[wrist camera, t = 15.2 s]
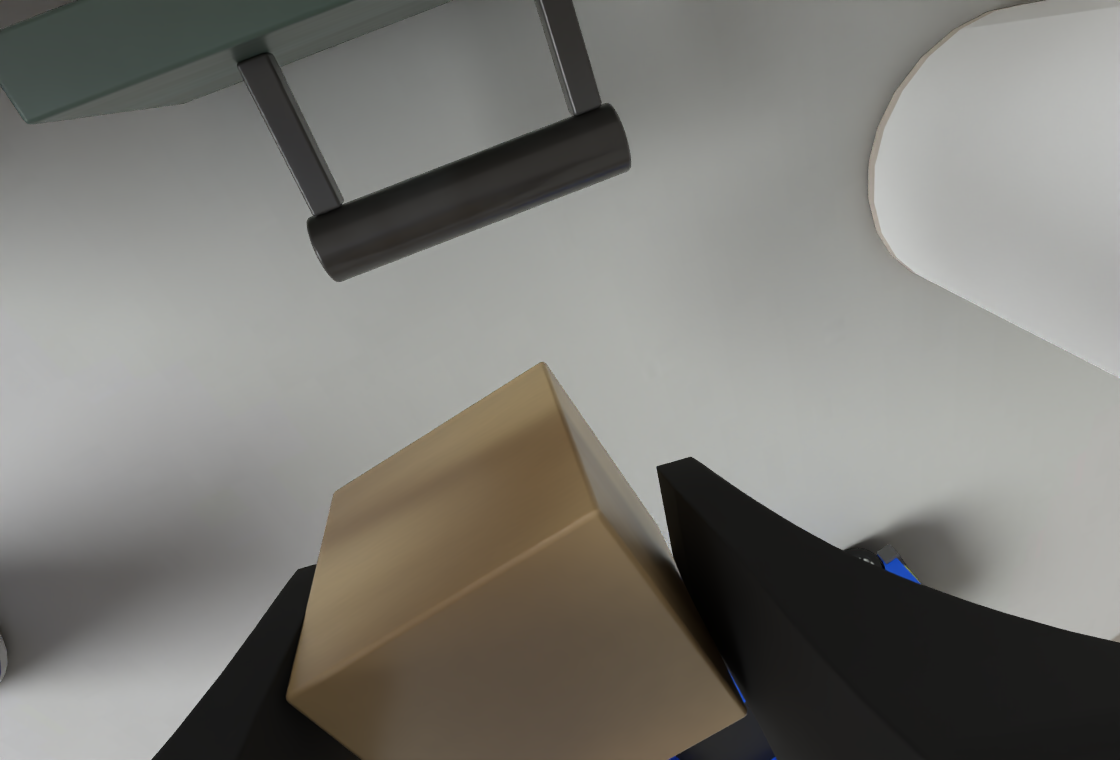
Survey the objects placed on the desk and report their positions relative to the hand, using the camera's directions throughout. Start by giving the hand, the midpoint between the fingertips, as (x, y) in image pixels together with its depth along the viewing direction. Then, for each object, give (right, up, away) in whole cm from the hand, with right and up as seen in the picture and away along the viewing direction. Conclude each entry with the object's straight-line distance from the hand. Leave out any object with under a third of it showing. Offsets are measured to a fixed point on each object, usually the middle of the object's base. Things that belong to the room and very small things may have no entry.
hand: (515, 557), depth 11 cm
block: (0, +1, +1) cm, 1 cm away
